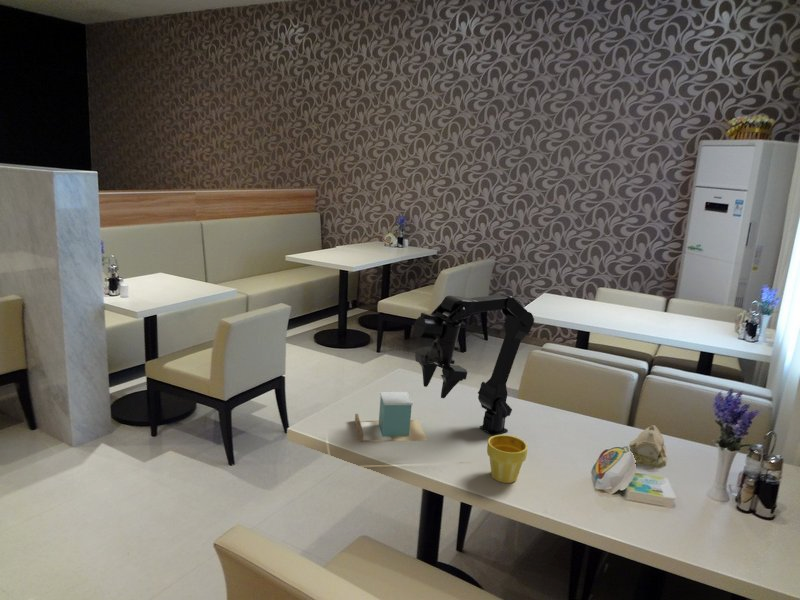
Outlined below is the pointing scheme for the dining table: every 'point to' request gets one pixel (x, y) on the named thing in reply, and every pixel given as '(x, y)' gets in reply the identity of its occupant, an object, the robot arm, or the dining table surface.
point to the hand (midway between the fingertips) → (433, 392)
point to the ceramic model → (649, 448)
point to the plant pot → (506, 457)
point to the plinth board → (372, 433)
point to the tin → (395, 413)
